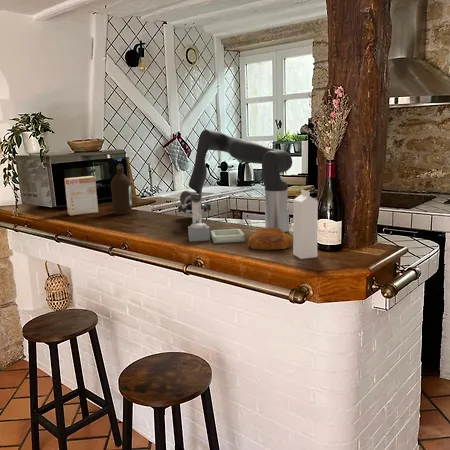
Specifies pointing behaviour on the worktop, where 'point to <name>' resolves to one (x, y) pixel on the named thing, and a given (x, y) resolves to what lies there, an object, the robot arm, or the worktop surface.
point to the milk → (305, 226)
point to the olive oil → (121, 193)
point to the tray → (227, 236)
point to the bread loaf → (269, 239)
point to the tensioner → (198, 232)
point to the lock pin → (196, 207)
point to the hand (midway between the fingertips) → (195, 210)
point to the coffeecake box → (81, 195)
